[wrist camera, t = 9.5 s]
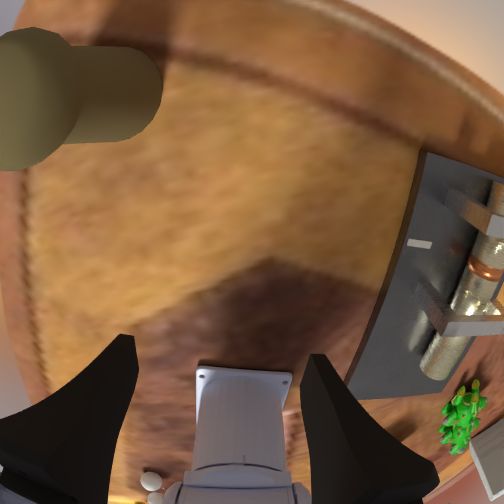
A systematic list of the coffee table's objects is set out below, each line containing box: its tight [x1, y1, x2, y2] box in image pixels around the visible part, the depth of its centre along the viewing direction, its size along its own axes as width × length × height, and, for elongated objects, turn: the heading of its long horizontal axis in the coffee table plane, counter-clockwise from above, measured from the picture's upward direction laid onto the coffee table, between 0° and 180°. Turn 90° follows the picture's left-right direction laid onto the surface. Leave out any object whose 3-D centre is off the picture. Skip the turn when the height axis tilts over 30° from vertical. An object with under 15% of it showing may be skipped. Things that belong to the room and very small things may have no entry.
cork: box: [0, 27, 163, 171], centre depth 11 cm, size 6×6×11 cm
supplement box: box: [470, 418, 504, 501], centre depth 31 cm, size 7×7×13 cm
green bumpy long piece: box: [439, 379, 488, 455], centre depth 29 cm, size 7×18×4 cm, turn 22°
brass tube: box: [420, 181, 504, 380], centre depth 19 cm, size 16×3×3 cm
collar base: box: [343, 150, 504, 400], centre depth 20 cm, size 22×12×6 cm, turn 173°
